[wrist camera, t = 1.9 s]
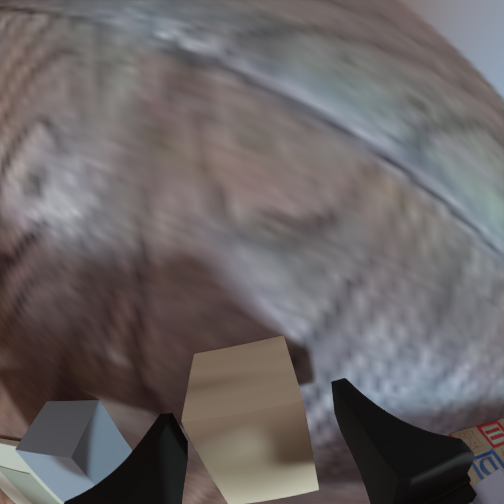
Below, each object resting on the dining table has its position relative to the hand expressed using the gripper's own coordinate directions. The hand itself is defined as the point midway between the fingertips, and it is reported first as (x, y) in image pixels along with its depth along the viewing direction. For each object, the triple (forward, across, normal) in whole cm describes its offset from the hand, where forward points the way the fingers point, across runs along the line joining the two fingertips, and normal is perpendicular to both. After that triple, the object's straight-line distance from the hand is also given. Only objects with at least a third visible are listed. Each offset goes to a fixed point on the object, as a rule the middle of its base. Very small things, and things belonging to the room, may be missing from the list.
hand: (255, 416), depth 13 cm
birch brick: (+2, 0, 0) cm, 2 cm away
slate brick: (+2, +10, +2) cm, 10 cm away
